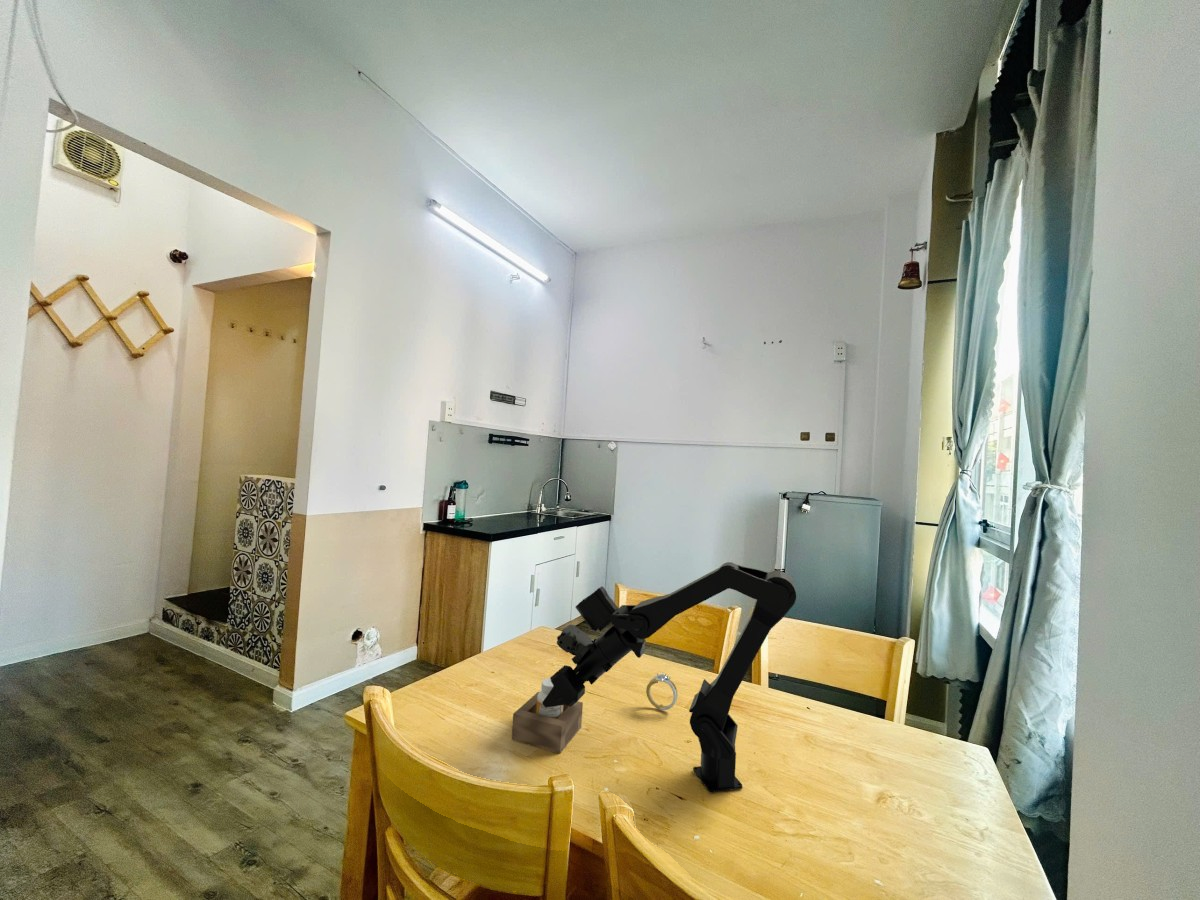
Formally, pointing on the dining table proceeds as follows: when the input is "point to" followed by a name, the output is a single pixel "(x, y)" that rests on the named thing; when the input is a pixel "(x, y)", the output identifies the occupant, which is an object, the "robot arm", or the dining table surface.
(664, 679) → the diamond engagement ring
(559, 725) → the walnut well block
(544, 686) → the supplement bottle
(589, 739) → the dining table surface
